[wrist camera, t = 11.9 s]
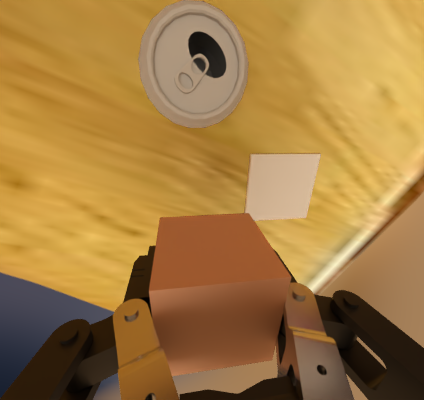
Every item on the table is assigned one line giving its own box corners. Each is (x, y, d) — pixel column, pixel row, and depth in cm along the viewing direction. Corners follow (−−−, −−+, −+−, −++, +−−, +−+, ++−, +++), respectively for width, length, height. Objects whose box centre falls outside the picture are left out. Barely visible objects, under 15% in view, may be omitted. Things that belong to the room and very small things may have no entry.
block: (160, 217, 11) (148, 290, 7) (248, 213, 12) (291, 276, 8) (166, 286, 13) (160, 378, 9) (241, 279, 14) (272, 360, 10)
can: (234, 85, 24) (279, 69, 14) (190, 133, 26) (199, 153, 15) (186, 25, 22) (195, -56, 11) (139, 83, 23) (106, 63, 12)
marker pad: (250, 153, 28) (251, 154, 28) (318, 153, 29) (321, 154, 29) (243, 219, 32) (244, 221, 32) (304, 216, 33) (306, 217, 33)
